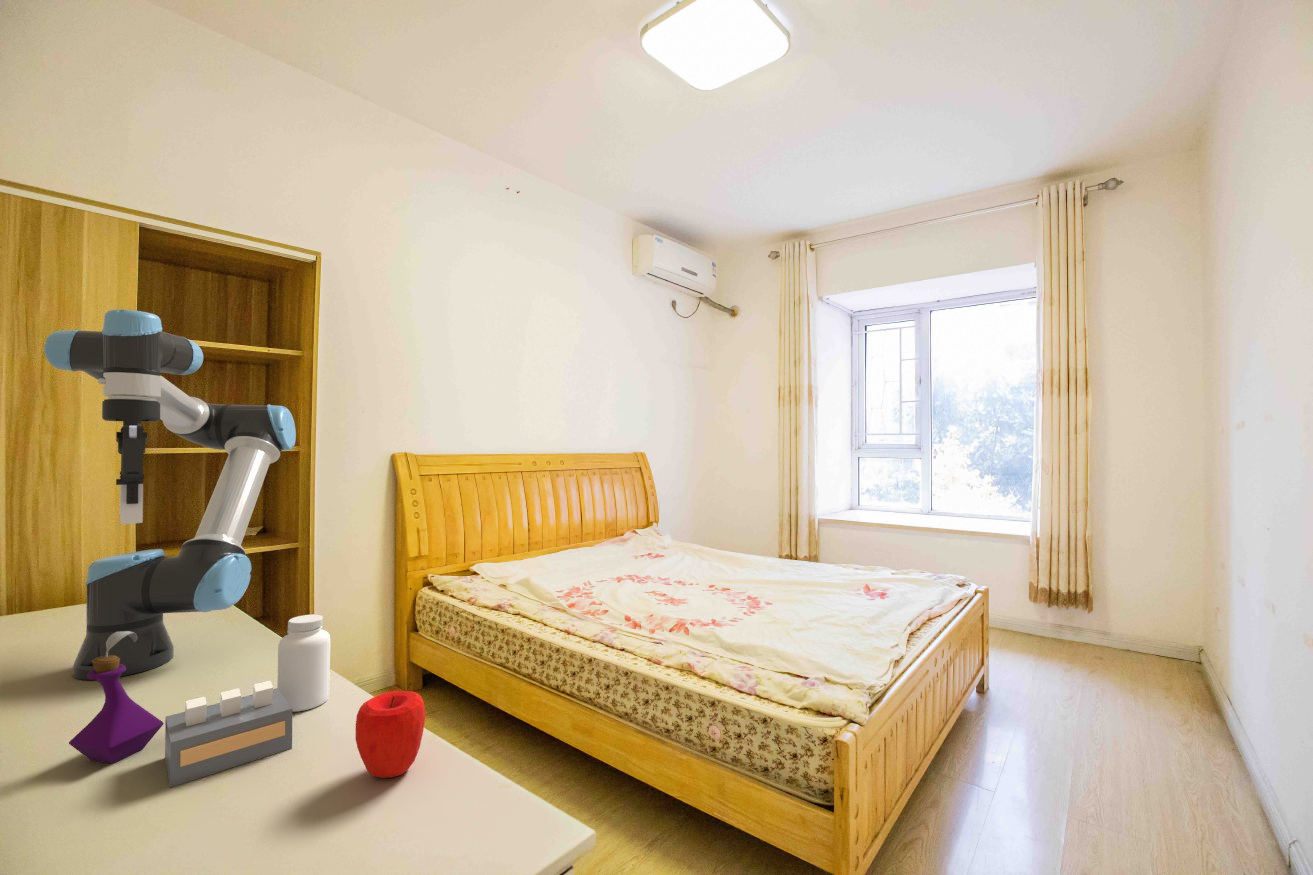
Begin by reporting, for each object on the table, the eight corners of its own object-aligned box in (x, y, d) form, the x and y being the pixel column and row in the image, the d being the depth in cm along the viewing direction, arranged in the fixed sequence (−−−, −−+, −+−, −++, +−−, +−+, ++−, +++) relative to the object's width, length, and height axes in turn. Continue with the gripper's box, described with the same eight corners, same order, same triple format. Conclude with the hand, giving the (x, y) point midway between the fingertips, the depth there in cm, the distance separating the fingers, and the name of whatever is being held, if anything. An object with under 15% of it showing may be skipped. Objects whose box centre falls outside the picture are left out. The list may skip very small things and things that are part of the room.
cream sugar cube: (252, 700, 87) (253, 684, 86) (269, 696, 88) (270, 680, 88) (254, 708, 85) (255, 691, 85) (272, 703, 87) (273, 687, 86)
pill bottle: (340, 696, 103) (341, 614, 103) (299, 716, 95) (300, 627, 95) (308, 690, 105) (308, 609, 106) (265, 709, 98) (266, 622, 98)
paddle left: (185, 718, 81) (185, 700, 81) (204, 713, 83) (205, 696, 82) (186, 726, 80) (187, 709, 79) (206, 721, 81) (206, 704, 81)
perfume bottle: (108, 771, 79) (109, 643, 79) (67, 765, 81) (69, 639, 81) (164, 743, 87) (165, 626, 87) (126, 738, 88) (127, 623, 88)
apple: (355, 799, 73) (356, 715, 73) (354, 765, 81) (355, 689, 81) (428, 780, 77) (429, 700, 77) (421, 749, 85) (421, 677, 85)
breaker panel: (165, 757, 83) (165, 716, 83) (277, 724, 93) (278, 687, 93) (170, 788, 75) (171, 743, 75) (292, 749, 85) (293, 709, 85)
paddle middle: (219, 708, 84) (220, 692, 84) (238, 704, 86) (239, 687, 85) (221, 717, 83) (222, 700, 82) (240, 712, 84) (241, 695, 84)
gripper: (103, 401, 106) (101, 514, 106) (101, 393, 88) (99, 529, 88) (156, 403, 111) (155, 511, 111) (165, 396, 93) (163, 524, 93)
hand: (130, 519), depth 99 cm, fingers open, 13 cm apart
